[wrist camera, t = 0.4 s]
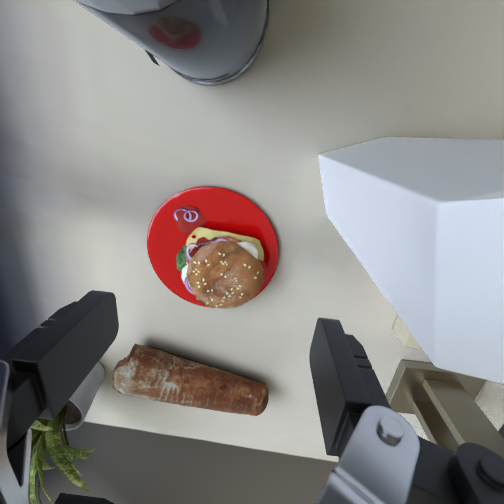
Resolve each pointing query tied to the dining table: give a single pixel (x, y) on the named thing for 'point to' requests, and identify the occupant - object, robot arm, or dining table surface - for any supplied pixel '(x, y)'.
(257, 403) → the bread
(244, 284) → the hamburger
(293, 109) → the dining table surface
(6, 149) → the dining table surface
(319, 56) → the dining table surface
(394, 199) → the milk
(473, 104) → the dining table surface
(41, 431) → the house plant
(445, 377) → the lever bracket
